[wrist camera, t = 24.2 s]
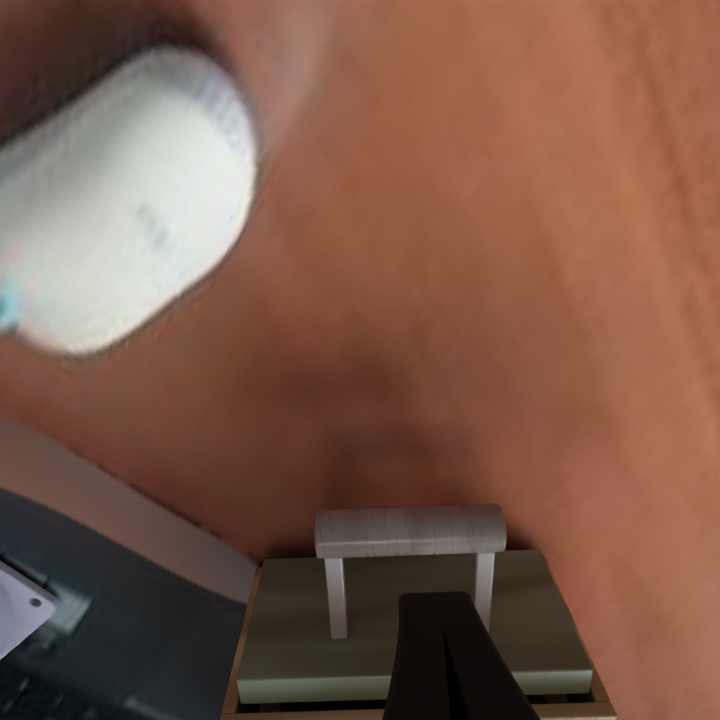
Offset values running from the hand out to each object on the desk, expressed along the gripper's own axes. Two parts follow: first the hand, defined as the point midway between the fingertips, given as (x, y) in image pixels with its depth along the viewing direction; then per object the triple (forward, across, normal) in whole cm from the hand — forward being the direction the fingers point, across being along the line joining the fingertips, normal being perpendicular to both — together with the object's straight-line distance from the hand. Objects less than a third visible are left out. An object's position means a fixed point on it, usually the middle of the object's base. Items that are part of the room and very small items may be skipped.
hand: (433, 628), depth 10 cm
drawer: (+10, 0, +11) cm, 14 cm away
